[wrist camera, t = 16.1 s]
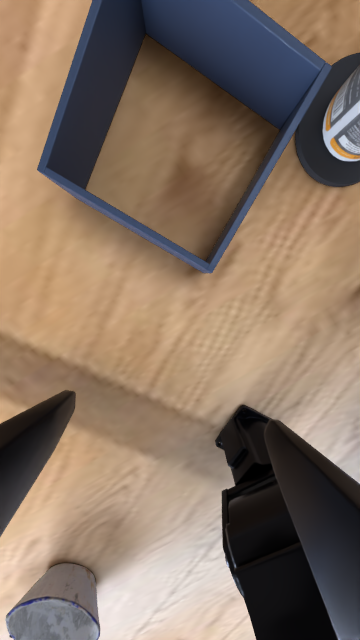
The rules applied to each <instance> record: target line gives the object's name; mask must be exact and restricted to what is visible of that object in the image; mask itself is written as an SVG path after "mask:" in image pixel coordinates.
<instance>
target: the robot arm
mask: <svg viewBox="0 0 360 640" xmlns="http://www.w3.org/2000/svg"><path fill="white" fill-rule="evenodd" d="M75 398H76V393H75V392H74V391H69V390H65V391H63V392H61V393H59V394H57V395H55V396H53V397H51V398H49V399H47V400H45V401H43V402H41V403H39V404H37V405H36V406H34V407H32V408H30V409H28V410H26V411H24V412H22V413H20V414H18V415H16V416H14V417H12V418H11V419H9V420H7V421H5V422H3V423H1V424H0V536H1V535H2V533H3V532H4V530H5V528H6V527H7V525H8V524H9V522H10V520H11V519H12V517H13V516H14V514H15V512H16V511H17V509H18V508H19V506H20V504H21V503H22V501H23V500H24V498H25V496H26V495H27V493H28V492H29V490H30V488H31V487H32V485H33V484H34V482H35V480H36V479H37V477H38V476H39V474H40V472H41V471H42V469H43V468H44V466H45V464H46V463H47V461H48V460H49V458H50V456H51V455H52V453H53V451H54V450H55V448H56V446H57V444H58V442H59V440H60V438H61V436H62V434H63V432H64V430H65V428H66V426H67V424H68V422H69V420H70V418H71V416H72V414H73V412H74V409H75ZM244 409H245V410H244ZM243 410H244V411H243ZM219 442H220V443H219ZM215 443H216V446H217V447H219V448H221V449H223V450H224V451H225V455H226V459H227V463H228V466H229V467H231V471H232V474H233V478H234V482H235V486H234V487H232V488H230V489H225V490H223V491H222V533H223V549H224V552H225V559H226V563H227V566H228V567H229V568H230V571H231V574H232V577H233V579H234V581H235V584H236V586H237V588H238V590H239V592H240V593H241V595H242V596H243V597H244V600H245V603H246V606H247V609H248V612H249V615H250V619H251V622H252V626H253V629H254V633H255V636H256V640H360V484H359V483H358V482H356V481H355V480H354V479H353V478H351V477H350V476H349V475H348V474H346V473H345V472H344V471H343V470H341V469H340V468H339V467H337V466H336V465H335V464H334V463H332V462H331V461H330V460H329V459H327V458H326V457H325V456H324V455H322V454H321V453H320V452H318V451H317V450H316V449H315V448H313V447H312V446H311V445H310V444H308V443H307V442H306V441H305V440H303V439H302V438H301V437H300V436H298V435H297V434H296V433H294V432H293V431H292V430H291V429H289V428H288V427H287V426H286V425H284V424H283V423H282V422H281V421H279V420H273V419H271V418H269V417H267V416H265V415H263V414H261V413H259V412H257V411H255V410H253V409H252V408H250V407H248V406H246V405H242V406H241V407H240V408H239V409H238V410H237V412H236V413H235V414H234V416H233V417H232V418H231V419H230V421H229V422H228V423H227V425H226V426H225V427H224V429H223V430H222V431H221V433H220V435H219V436H218V437H217V439H216V440H215Z"/></svg>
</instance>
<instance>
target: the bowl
mask: <svg viewBox="0 0 360 640" xmlns="http://www.w3.org/2000/svg"><path fill="white" fill-rule="evenodd" d="M6 625H7V629H8V632H9V634H10V637H11V638H13V639H14V640H98V638H99V636H100V624H99V617H98V607H97V592H96V581H95V577H94V575H93V574H92V573H91V571H89V570H88V569H87V568H85V567H83V566H80V565H76V564H72V563H62V564H57V565H55V566H53V567H51V568H50V569H49V570H48V571H47V572H46V573H45V574H44V575H43V576H42V577H41V578H40V579H39V580H38V581H37V582H36V583H35V584H34V586H33V587H32V588H31V589H30V590H29V591H28V592H27V593H26V594H25V595H24V597H23V598H22V599H21V600H20V601H19V602H18V603H17V604H16V605H15V606H14V607H13V609H12V610H11V611H10V612H9V613H8V614H7V615H6Z"/></svg>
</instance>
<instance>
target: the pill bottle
mask: <svg viewBox="0 0 360 640" xmlns="http://www.w3.org/2000/svg"><path fill="white" fill-rule="evenodd" d="M323 138H324V142H325V145H326V147H327V148H328V150H329V152H330V153H331V154H332V155H333V156H335V157H336V158H338V159H340V160H343V161H358V160H360V65H359V66H358V67H357V69H356V70H355V71H354V72H353V73H352V74H351V76H350V77H349V78H348V79H347V80H346V81H345V83H344V84H343V85H342V86H341V88H340V89H339V90H338V92H337V93H336V94H335V96H334V97H333V98H332V100H331V102H330V104H329V106H328V108H327V111H326V113H325V117H324V122H323Z"/></svg>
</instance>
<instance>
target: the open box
mask: <svg viewBox="0 0 360 640" xmlns="http://www.w3.org/2000/svg"><path fill="white" fill-rule="evenodd" d="M145 34H148V35H149V36H150V37H152V38H153V39H155V40H156V41H157V42H159V43H160V44H161V45H163V46H164V47H166V48H167V49H168V50H170V51H171V52H173V53H174V54H175V55H177V56H178V57H179V58H181V59H182V60H184V61H185V62H186V63H188V64H189V65H191V66H192V67H193V68H195V69H196V70H198V71H199V72H200V73H202V74H203V75H204V76H206V77H207V78H209V79H210V80H211V81H213V82H214V83H216V84H217V85H218V86H220V87H221V88H222V89H224V90H225V91H227V92H228V93H229V94H231V95H232V96H234V97H235V98H236V99H238V100H239V101H240V102H242V103H243V104H245V105H246V106H247V107H249V108H250V109H252V110H253V111H254V112H256V113H257V114H259V115H260V116H261V117H263V118H264V119H265V120H267V121H268V122H270V123H271V124H272V125H274V126H275V127H277V128H278V129H279V130H280V131H279V133H278V135H277V136H276V138H275V140H274V142H273V143H272V145H271V147H270V149H269V150H268V152H267V154H266V156H265V158H264V159H263V161H262V163H261V165H260V166H259V168H258V170H257V172H256V173H255V175H254V177H253V179H252V180H251V182H250V184H249V186H248V187H247V189H246V191H245V193H244V194H243V196H242V198H241V200H240V202H239V203H238V205H237V207H236V209H235V210H234V212H233V214H232V216H231V217H230V219H229V221H228V223H227V224H226V226H225V228H224V230H223V231H222V233H221V235H220V237H219V238H218V240H217V242H216V244H215V246H214V247H213V249H212V251H211V253H210V254H209V256H208V258H207V260H206V261H204V260H202V259H200V258H198V257H197V256H195V255H193V254H192V253H190V252H188V251H187V250H185V249H183V248H182V247H180V246H178V245H177V244H175V243H173V242H172V241H170V240H168V239H167V238H165V237H163V236H162V235H160V234H158V233H157V232H155V231H153V230H151V229H150V228H148V227H146V226H145V225H143V224H141V223H140V222H138V221H136V220H135V219H133V218H131V217H130V216H128V215H126V214H125V213H123V212H121V211H120V210H118V209H116V208H115V207H113V206H111V205H110V204H108V203H106V202H104V201H103V200H101V199H99V198H98V197H96V196H94V195H93V194H91V193H89V192H88V191H86V190H85V188H86V186H87V183H88V180H89V178H90V175H91V173H92V170H93V168H94V165H95V162H96V160H97V157H98V155H99V152H100V150H101V147H102V144H103V142H104V139H105V137H106V134H107V132H108V129H109V126H110V124H111V121H112V119H113V116H114V113H115V111H116V108H117V106H118V103H119V101H120V98H121V95H122V93H123V90H124V88H125V85H126V83H127V80H128V77H129V75H130V72H131V70H132V67H133V65H134V62H135V59H136V57H137V54H138V52H139V49H140V47H141V44H142V41H143V39H144V36H145ZM331 69H332V66H330V65H329V64H328V63H325V61H324V60H323V59H321V58H320V57H319V56H318V55H316V54H315V53H314V52H313V51H311V50H310V49H309V48H308V47H306V46H305V45H304V44H303V43H301V42H300V41H299V40H298V39H296V38H295V37H294V36H293V35H291V34H290V33H289V32H288V31H286V30H285V29H284V28H283V27H281V26H280V25H279V24H277V23H276V22H275V21H274V20H272V19H271V18H270V17H269V16H267V15H266V14H265V13H264V12H262V11H261V10H260V9H259V8H257V7H256V6H255V5H254V4H252V3H251V2H250V1H249V0H92V3H91V6H90V10H89V13H88V16H87V19H86V22H85V25H84V28H83V31H82V34H81V37H80V40H79V43H78V46H77V49H76V52H75V55H74V58H73V61H72V64H71V68H70V71H69V74H68V77H67V80H66V83H65V86H64V89H63V92H62V95H61V98H60V101H59V104H58V107H57V110H56V113H55V116H54V119H53V123H52V126H51V129H50V132H49V135H48V138H47V141H46V144H45V147H44V150H43V153H42V156H41V159H40V162H39V165H38V168H37V170H38V171H39V172H40V173H42V174H43V175H45V176H46V177H47V178H49V179H50V180H52V181H53V182H54V183H56V184H57V185H59V186H60V187H61V188H63V189H64V190H66V191H67V192H68V193H70V194H71V195H72V196H74V197H75V198H77V199H78V200H80V201H82V202H84V203H85V204H87V205H89V206H90V207H92V208H94V209H96V210H97V211H99V212H101V213H102V214H104V215H106V216H107V217H109V218H111V219H113V220H114V221H116V222H118V223H119V224H121V225H123V226H124V227H126V228H128V229H130V230H131V231H133V232H135V233H136V234H138V235H140V236H141V237H143V238H145V239H147V240H148V241H150V242H152V243H153V244H155V245H157V246H159V247H160V248H162V249H164V250H165V251H167V252H169V253H170V254H172V255H174V256H176V257H177V258H179V259H181V260H182V261H184V262H186V263H187V264H189V265H191V266H193V267H194V268H196V269H198V270H199V271H201V272H203V273H212V272H213V270H214V269H215V267H216V265H217V264H218V262H219V260H220V258H221V257H222V255H223V253H224V252H225V250H226V248H227V247H228V245H229V243H230V241H231V240H232V238H233V236H234V235H235V233H236V231H237V229H238V228H239V226H240V224H241V223H242V221H243V219H244V217H245V216H246V214H247V212H248V211H249V209H250V207H251V205H252V204H253V202H254V200H255V199H256V197H257V195H258V193H259V192H260V190H261V188H262V187H263V185H264V183H265V181H266V180H267V178H268V176H269V175H270V173H271V171H272V170H273V168H274V166H275V164H276V163H277V161H278V159H279V158H280V156H281V154H282V152H283V151H284V149H285V147H286V146H287V144H288V142H289V140H290V139H291V137H292V135H293V134H294V132H295V130H296V128H297V127H298V125H299V123H300V122H301V120H302V118H303V116H304V115H305V113H306V111H307V110H308V108H309V106H310V104H311V103H312V101H313V99H314V98H315V96H316V94H317V92H318V91H319V89H320V87H321V86H322V84H323V82H324V81H325V79H326V77H327V75H328V74H329V72H330V70H331Z"/></svg>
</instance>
